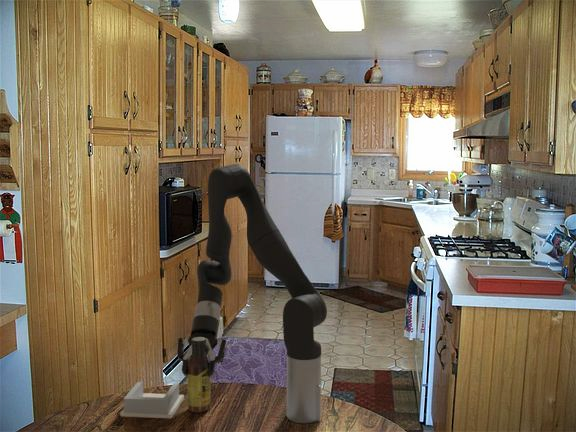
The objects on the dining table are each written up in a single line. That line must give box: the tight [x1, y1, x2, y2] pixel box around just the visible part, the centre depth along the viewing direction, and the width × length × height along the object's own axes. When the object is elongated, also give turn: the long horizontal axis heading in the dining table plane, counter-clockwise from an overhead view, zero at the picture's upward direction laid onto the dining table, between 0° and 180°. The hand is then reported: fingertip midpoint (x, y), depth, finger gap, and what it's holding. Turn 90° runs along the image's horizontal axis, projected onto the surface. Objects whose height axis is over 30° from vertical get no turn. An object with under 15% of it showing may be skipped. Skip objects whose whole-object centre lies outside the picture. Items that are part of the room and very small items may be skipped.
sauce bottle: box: [186, 337, 211, 414], centre depth 161 cm, size 7×6×20 cm
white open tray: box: [120, 381, 185, 419], centre depth 163 cm, size 14×13×5 cm
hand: (197, 375), depth 159 cm, fingers closed on sauce bottle, 6 cm apart
